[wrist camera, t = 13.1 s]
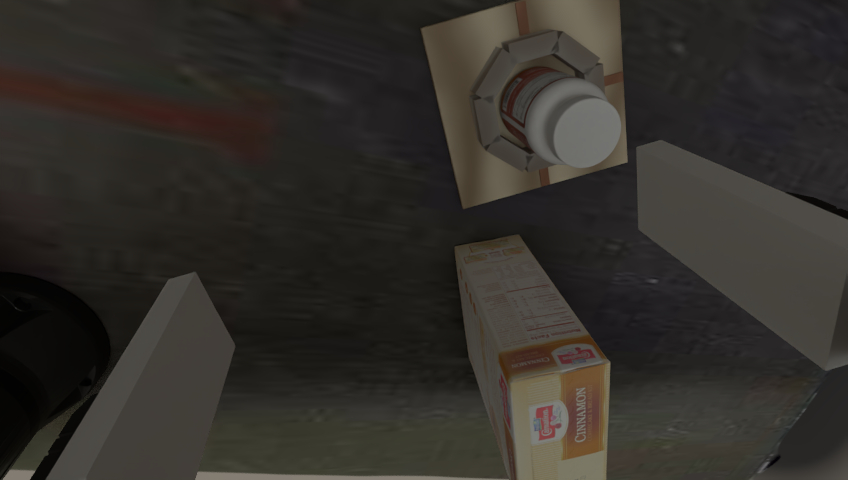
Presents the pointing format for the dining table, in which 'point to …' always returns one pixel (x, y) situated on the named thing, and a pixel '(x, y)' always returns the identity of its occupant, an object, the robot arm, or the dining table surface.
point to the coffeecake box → (533, 365)
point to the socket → (496, 65)
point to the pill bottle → (560, 117)
